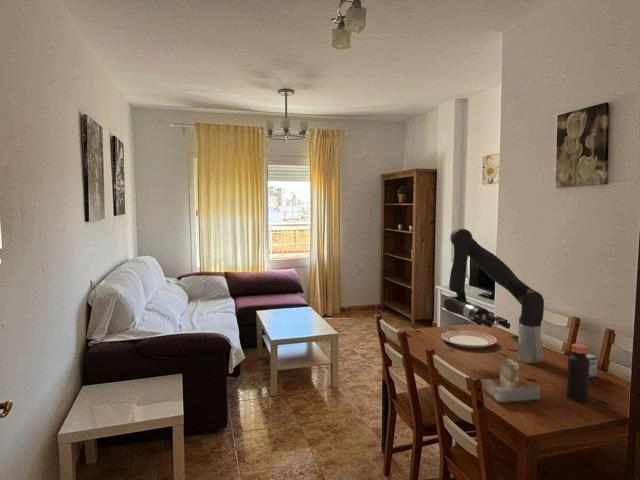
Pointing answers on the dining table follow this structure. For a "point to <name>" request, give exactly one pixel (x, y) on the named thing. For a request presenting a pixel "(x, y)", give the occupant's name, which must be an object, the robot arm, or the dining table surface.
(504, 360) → the cream tall block
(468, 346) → the dinner plate
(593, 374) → the medicine box
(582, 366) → the bottle
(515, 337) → the phone
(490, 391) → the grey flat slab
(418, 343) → the dining table surface
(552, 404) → the dining table surface
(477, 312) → the robot arm
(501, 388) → the metal rail
